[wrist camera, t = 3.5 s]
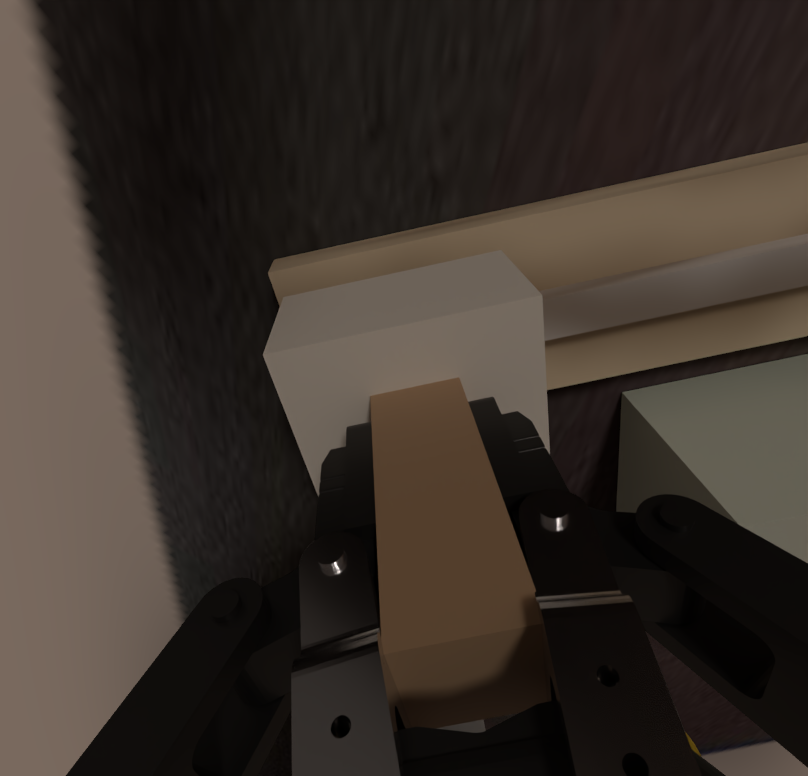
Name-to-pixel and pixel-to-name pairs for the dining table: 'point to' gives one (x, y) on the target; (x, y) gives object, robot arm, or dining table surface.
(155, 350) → the dining table surface
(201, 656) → the robot arm
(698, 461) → the cabinet
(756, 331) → the rail
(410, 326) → the carriage
